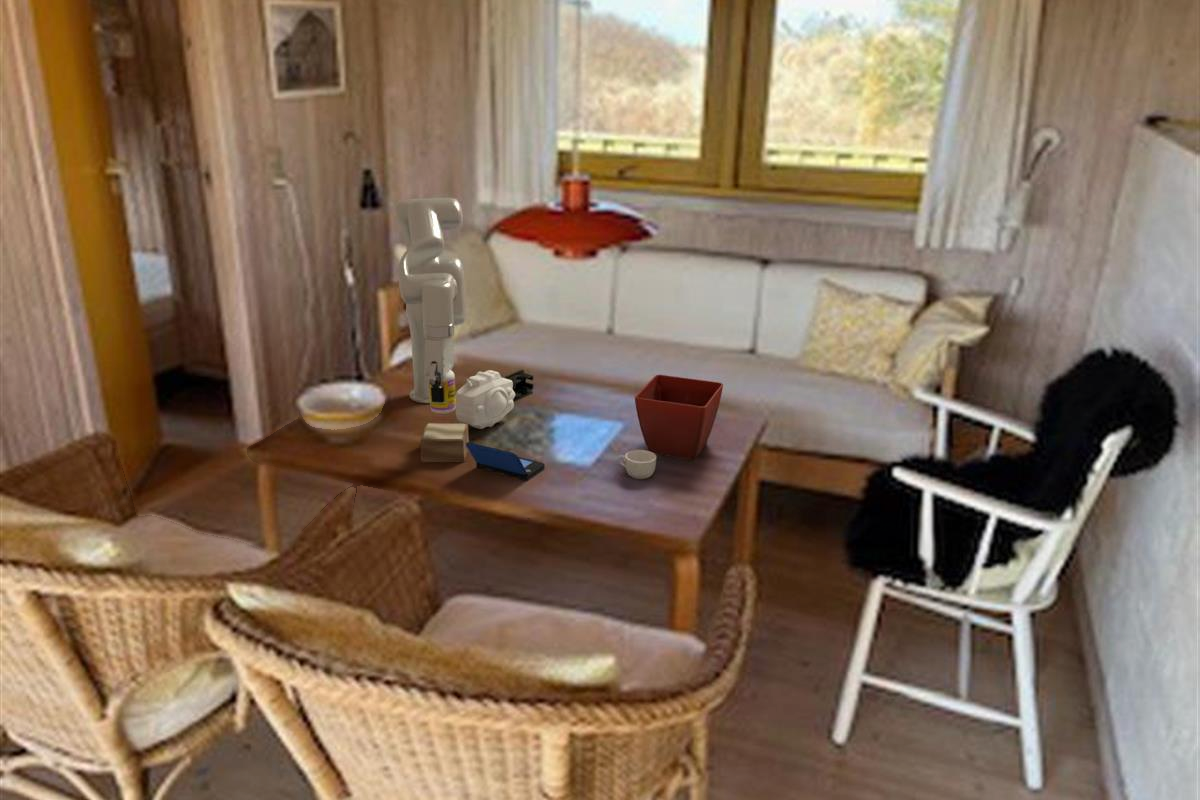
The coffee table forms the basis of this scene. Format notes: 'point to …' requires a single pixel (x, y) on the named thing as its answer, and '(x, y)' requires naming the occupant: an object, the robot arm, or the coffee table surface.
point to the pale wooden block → (444, 443)
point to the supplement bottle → (445, 394)
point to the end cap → (520, 384)
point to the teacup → (639, 463)
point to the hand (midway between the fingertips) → (442, 396)
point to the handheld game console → (504, 462)
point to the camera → (484, 399)
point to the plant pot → (677, 414)
